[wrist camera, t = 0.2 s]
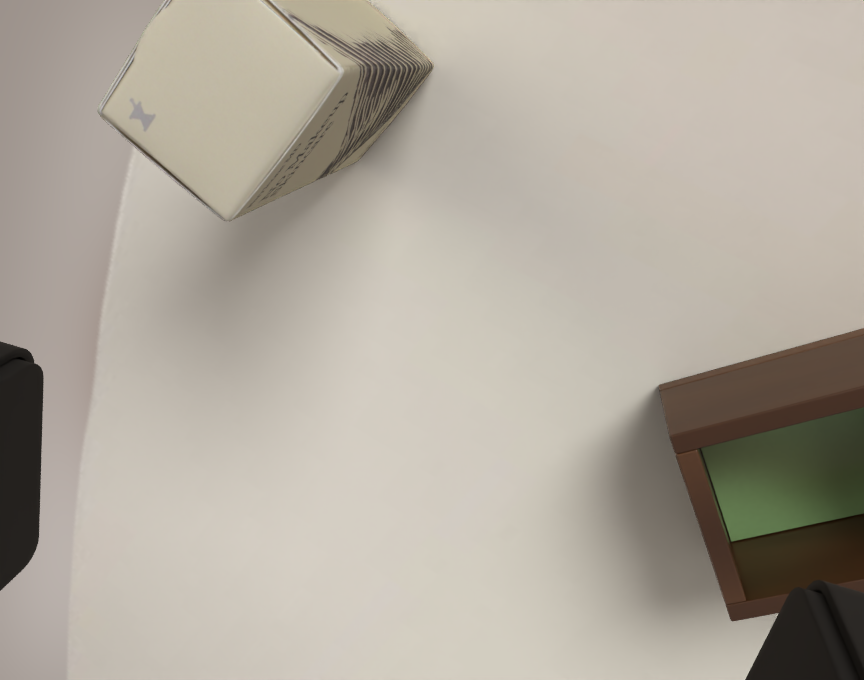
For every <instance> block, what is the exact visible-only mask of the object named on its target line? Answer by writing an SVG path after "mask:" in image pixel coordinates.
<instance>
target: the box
mask: <svg viewBox="0 0 864 680" xmlns="http://www.w3.org/2000/svg"><path fill="white" fill-rule="evenodd" d="M433 68H434V64H433V63H432V61H431V60H430V59H429V58H428V57H427V56H426V55H425V54H424V53H423V52H422V51H421V50H420V49H419V48H418V47H417V46H416V45H415V44H414V43H413V42H412V41H410V40H409V39H408V38H407V37H406V36H405V35H404V34H403V33H402V32H401V31H400V30H399V29H398V28H397V27H396V26H395V25H394V24H393V23H392V22H391V21H390V20H389V19H388V18H386V17H385V16H384V15H383V14H382V13H381V12H380V11H379V10H377V9H376V8H375V7H374V6H373V5H372V4H371V3H369V2H368V1H367V0H164V1H163V2H162V4H161V5H160V7H159V8H158V10H157V11H156V13H155V15H154V16H153V17H152V19H151V21H150V22H149V24H148V25H147V27H146V28H145V30H144V32H143V33H142V35H141V37H140V38H139V40H138V42H137V43H136V45H135V47H134V48H133V50H132V51H131V53H130V55H129V56H128V58H127V59H126V61H125V63H124V64H123V66H122V68H121V69H120V71H119V73H118V74H117V76H116V78H115V79H114V81H113V83H112V84H111V86H110V88H109V89H108V91H107V93H106V95H105V96H104V98H103V100H102V101H101V103H100V104H99V106H98V113H99V115H100V116H101V117H102V118H103V120H104V121H105V122H106V123H107V124H108V125H110V126H111V127H112V128H113V129H114V130H116V131H117V132H118V133H119V134H120V135H121V136H123V137H124V138H125V139H126V140H127V141H128V142H129V143H131V144H132V145H133V146H134V147H135V148H136V149H138V150H139V151H140V152H141V153H142V154H143V155H144V156H145V157H147V158H148V159H149V160H150V161H151V162H153V163H154V164H155V165H156V166H157V167H159V168H160V169H161V170H162V171H163V172H164V173H166V174H167V175H168V176H169V177H170V178H171V179H173V180H174V181H175V182H176V183H177V184H179V185H180V186H181V187H182V188H184V189H185V190H186V191H187V192H189V193H190V194H191V195H192V196H193V197H194V198H196V199H197V200H198V201H199V202H201V203H202V204H203V205H204V206H206V207H207V208H208V209H209V210H211V211H212V212H213V213H214V214H216V215H217V216H218V217H220V218H221V219H222V220H224V221H232V220H233V219H235V218H238V217H240V216H242V215H244V214H246V213H248V212H250V211H252V210H254V209H256V208H258V207H261V206H263V205H265V204H267V203H269V202H271V201H273V200H275V199H278V198H280V197H282V196H284V195H286V194H288V193H290V192H292V191H295V190H297V189H299V188H301V187H303V186H306V185H308V184H310V183H312V182H314V181H316V180H318V179H320V178H323V177H325V176H327V175H329V174H332V173H334V172H336V171H338V170H340V169H342V168H344V167H347V166H349V165H351V164H353V163H355V162H357V161H358V160H359V159H360V158H361V157H362V156H363V155H364V153H365V152H366V151H367V150H368V149H369V148H370V146H371V145H372V144H373V143H374V142H375V141H376V140H377V138H378V137H379V136H380V135H381V134H382V133H383V131H384V130H385V129H386V128H387V127H388V126H389V124H390V123H391V122H392V121H393V120H394V118H395V117H396V116H397V115H398V114H399V112H400V111H401V110H402V109H403V107H404V106H405V105H406V104H407V102H408V101H409V100H410V98H411V97H412V96H413V94H414V93H415V92H416V91H417V89H418V88H419V87H420V85H421V84H422V83H423V82H424V80H425V79H426V78H427V76H428V75H429V74H430V72H431V71H432V69H433Z"/></svg>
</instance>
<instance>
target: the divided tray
mask: <svg viewBox="0 0 864 680" xmlns="http://www.w3.org/2000/svg"><path fill="white" fill-rule="evenodd" d="M659 391H660V395H661V400H662V405H663V409H664V414H665V419H666V423H667V428H668V433H669V437H670V440H671V443H672V446H673V449H674V452H675V455H676V458H677V461H678V464H679V467H680V470H681V473H682V476H683V479H684V482H685V485H686V488H687V491H688V494H689V497H690V500H691V503H692V506H693V509H694V512H695V515H696V518H697V521H698V524H699V527H700V530H701V533H702V536H703V539H704V542H705V545H706V548H707V551H708V554H709V557H710V560H711V563H712V565H713V568H714V571H715V574H716V577H717V580H718V583H719V586H720V589H721V592H722V595H723V598H724V601H725V604H726V607H727V610H728V613H729V616H730V619H731V621H738V620H743V619H748V618H754V617H759V616H765V615H770V614H775V613H779V612H780V610H781V608H782V606H783V604H784V602H785V600H786V598H787V597H788V595H789V593H790V592H791V591H792V590H793V589H794V588H796V587H801V588H804V589H806V588H807V587H808V585H810V584H811V583H812V582H813V581H816V580H822V581H825V582H829V583H832V584H836V585H839V586H843V587H846V588H849V589H853V590H856V591H860V592H863V593H864V328H863V329H860V330H856V331H853V332H849V333H845V334H842V335H838V336H834V337H831V338H827V339H824V340H820V341H816V342H813V343H809V344H805V345H802V346H798V347H795V348H791V349H787V350H784V351H780V352H776V353H773V354H769V355H766V356H762V357H758V358H755V359H751V360H748V361H744V362H740V363H737V364H733V365H729V366H726V367H722V368H719V369H715V370H711V371H708V372H704V373H700V374H697V375H693V376H690V377H686V378H682V379H679V380H675V381H671V382H668V383H664V384H661V385H659Z"/></svg>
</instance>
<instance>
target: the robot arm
mask: <svg viewBox="0 0 864 680" xmlns="http://www.w3.org/2000/svg"><path fill="white" fill-rule="evenodd" d="M42 411H43V371H42V369H41V367H40V366H38V365H37V364H34V359H33V356H32V354H31V353H30V352H29V351H28V350H27V349H24V348H20V347H17V346H13V345H10V344H7V343H3V342H0V590H2V589H3V588H4V587H5V586H6V585H7V584H8V583H9V582H10V581H11V580H12V579H13V578H14V577H15V576H16V575H17V574H18V573H19V572H21V570H22V569H24V567H25V566H26V565H27V564H28V563H29V561H30V560H31V558H32V557H33V555H34V552H35V550H36V547H37V544H38V538H39V514H40V479H41V476H40V475H41V445H42ZM745 680H864V593H863V592H860V591H856V590H853V589H849V588H846V587H843V586H839V585H836V584H832V583H829V582H825V581H822V580H816V581H813V582H812V583H811V584H810V585H808V587H807V588H806V589H804V588H801V587H796V588H794V589H793V590H792V591H791V592H790V593H789V595H788V597H787V598H786V600H785V602H784V604H783V606H782V608H781V610H780V612H779V614H778V616H777V618H776V620H775V622H774V624H773V626H772V628H771V630H770V632H769V634H768V636H767V638H766V640H765V642H764V644H763V646H762V648H761V650H760V652H759V654H758V656H757V658H756V660H755V662H754V664H753V666H752V668H751V670H750V672H749V673H748V675H747V677H746V679H745Z"/></svg>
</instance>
